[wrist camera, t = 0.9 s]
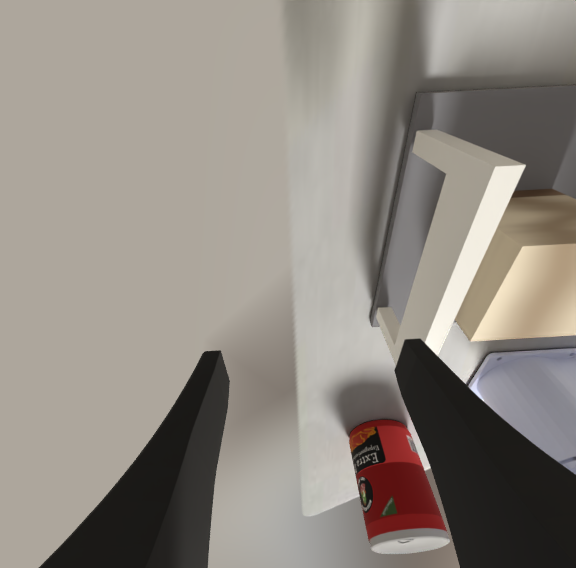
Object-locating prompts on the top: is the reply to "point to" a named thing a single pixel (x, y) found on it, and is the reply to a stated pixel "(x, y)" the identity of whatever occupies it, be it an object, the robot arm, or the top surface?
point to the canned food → (395, 490)
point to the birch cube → (526, 272)
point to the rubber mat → (484, 133)
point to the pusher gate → (452, 236)
